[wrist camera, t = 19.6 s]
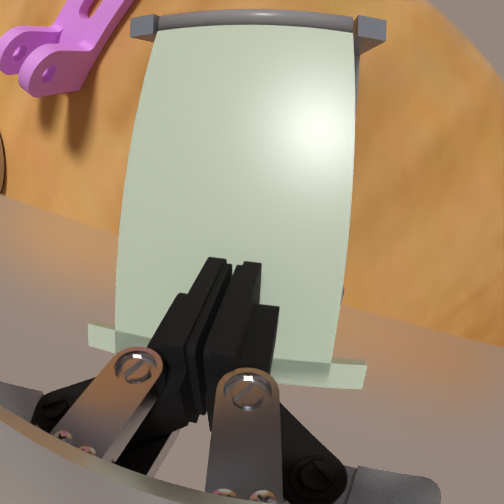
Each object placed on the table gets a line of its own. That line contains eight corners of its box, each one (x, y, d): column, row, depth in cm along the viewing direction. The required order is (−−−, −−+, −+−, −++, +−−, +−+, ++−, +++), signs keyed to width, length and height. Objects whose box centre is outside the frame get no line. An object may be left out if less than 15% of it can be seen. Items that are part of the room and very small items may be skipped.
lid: (98, 340, 13) (86, 346, 12) (142, 26, 12) (134, 16, 11) (357, 380, 11) (362, 391, 10) (379, 31, 11) (384, 18, 10)
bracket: (80, 90, 21) (21, 100, 15) (44, 64, 20) (-14, 70, 14) (169, -43, 15) (125, -75, 9) (122, -60, 14) (73, -86, 8)
